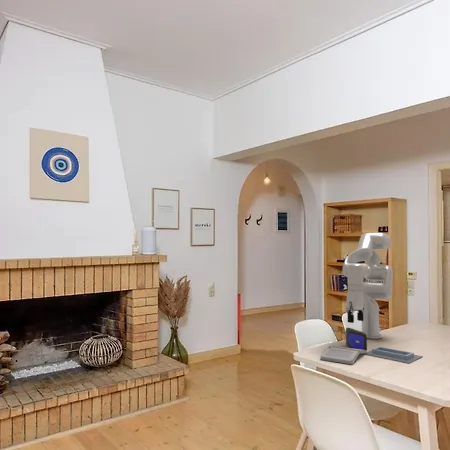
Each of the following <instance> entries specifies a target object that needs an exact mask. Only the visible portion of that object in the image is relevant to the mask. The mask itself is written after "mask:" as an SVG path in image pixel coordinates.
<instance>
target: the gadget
mask: <svg viewBox="0 0 450 450" xmlns="http://www.w3.org/2000/svg"><path fill="white" fill-rule="evenodd" d="M366 352H367V350H362V349H354V348H349V347H347V346H345V347H344V346H339V345H337V346H336V345H329V346H328V347H327V348H326V349H325V350H324V352H323V353H322V354H321V355H320V358H319V359H320V360H321V361H322V360H323V361H328V362H329V361H330V362H336V363H341V364H347V365H354V363H355V361H356V360H357V359H358V357H359V355H360V354H363V353H366Z"/></svg>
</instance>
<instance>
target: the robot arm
mask: <svg viewBox="0 0 450 450" xmlns="http://www.w3.org/2000/svg"><path fill="white" fill-rule="evenodd" d="M391 246H392V239H391V237H390V235H389V234H386V233H383V232H366V233H363V234H361V236H360V238H359V241H358V245H357V246H356V247H357V248H356V249H355V250H354V251H352V252H351V253H349V254H348V255H347V256H346V257H345V258H344V259H345V260H344V262H343V265H342V274H343V276H344V277H346V278H347V293H346V302H345V311H346V315H347V323H349V324H351V323H352V324H353V323H355V315H354V313H355V312H356V311H357V312H356V313H357V314H356V315H357V317H356V319H357V321H358V322H359V321H361V332H364V333H365V334H366V335H367V339H373V340H378V339H382V338H383V335H382V334H380V332H381V331H382V328H380V306H379V304H378V302H377V301H376V299H377V300H389V299H391V297H392V293H393V282H394V281H393V279H394V277H393V275H394V272H393V268H392V266H390V265H389V264H388V265H387V264H381V256H380V255H379V253H378V252H377V251H376V250H389V248H391ZM363 261H364V263H360V262H363ZM364 279H365V280H368V281H364Z"/></svg>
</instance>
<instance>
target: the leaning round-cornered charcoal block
mask: <svg viewBox="0 0 450 450" xmlns="http://www.w3.org/2000/svg"><path fill="white" fill-rule="evenodd" d="M345 347H347V348H354V349H362V350H366V351H367V350H368V338H367V335H366V334H365V333H364V332H362V330H357V329H354V328H351V327H346V328H345Z"/></svg>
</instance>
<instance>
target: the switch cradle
mask: <svg viewBox="0 0 450 450" xmlns="http://www.w3.org/2000/svg"><path fill="white" fill-rule="evenodd" d="M362 355H365V356H370V357H373V358H380V359H384V360H389V361H392V362H393V361H395V362H399V363H403V364H407V365H409V364H411V363H413V362H415V361H418V360H420V359H422V358H423V357H424V356H423V355H418V354H415V352H411V351H406V350H400V349H396V348H395V349H394V348H391V347H386V346H385V347H384V346H377V347H374V348H372V349H371V350H369V351H366V353H362Z"/></svg>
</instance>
